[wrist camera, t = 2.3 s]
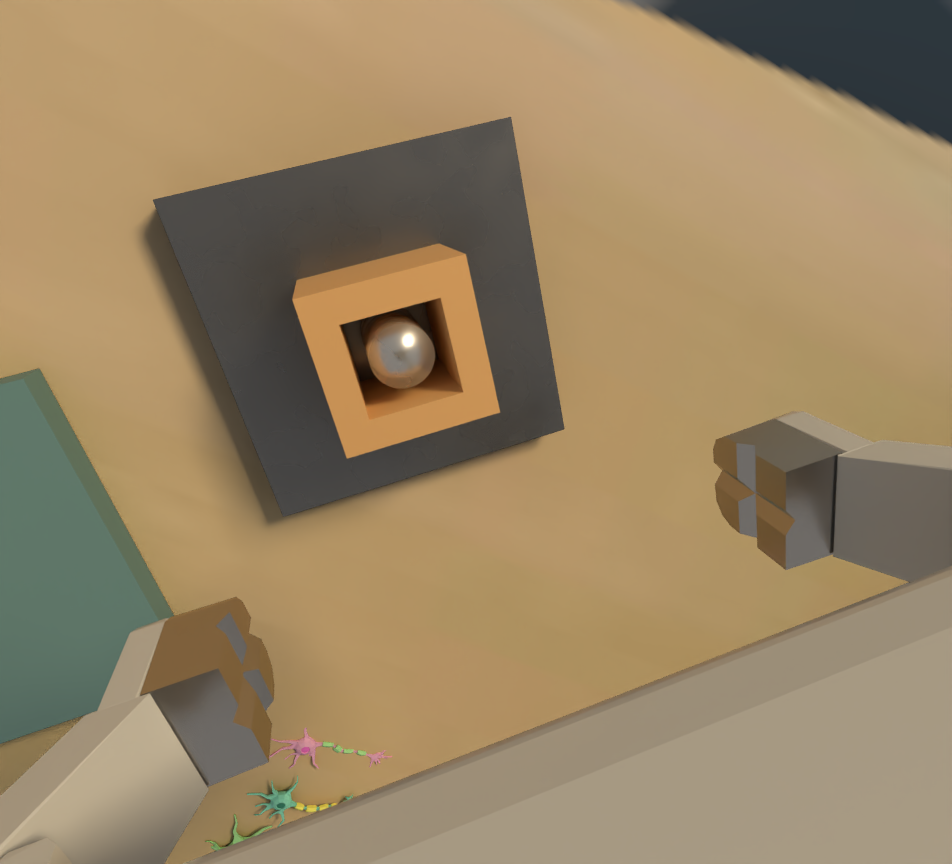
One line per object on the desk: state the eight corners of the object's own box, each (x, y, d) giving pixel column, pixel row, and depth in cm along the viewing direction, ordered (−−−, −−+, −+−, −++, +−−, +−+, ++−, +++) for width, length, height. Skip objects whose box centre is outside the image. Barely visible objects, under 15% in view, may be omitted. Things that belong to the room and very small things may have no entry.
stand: (553, 419, 31) (603, 466, 26) (284, 501, 29) (277, 571, 24) (500, 121, 25) (550, 101, 20) (162, 199, 23) (115, 200, 18)
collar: (470, 376, 28) (500, 412, 23) (341, 413, 27) (346, 458, 22) (438, 243, 25) (465, 254, 21) (296, 280, 24) (292, 299, 20)
